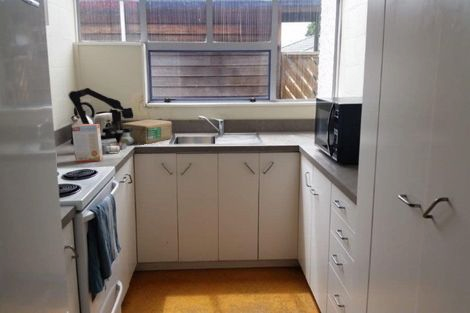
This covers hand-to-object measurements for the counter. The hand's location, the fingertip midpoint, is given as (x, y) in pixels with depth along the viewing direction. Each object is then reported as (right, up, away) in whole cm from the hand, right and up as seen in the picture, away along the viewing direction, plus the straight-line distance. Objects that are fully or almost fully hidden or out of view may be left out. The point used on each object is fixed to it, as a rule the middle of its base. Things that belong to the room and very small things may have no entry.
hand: (118, 143), depth 271 cm
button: (0, -3, +1) cm, 4 cm away
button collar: (0, -4, +1) cm, 4 cm away
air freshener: (+1, -1, +16) cm, 16 cm away
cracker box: (-8, -11, -32) cm, 35 cm away
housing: (-6, -6, -11) cm, 14 cm away
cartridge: (-2, -6, -12) cm, 13 cm away
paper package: (+13, +3, +32) cm, 34 cm away
